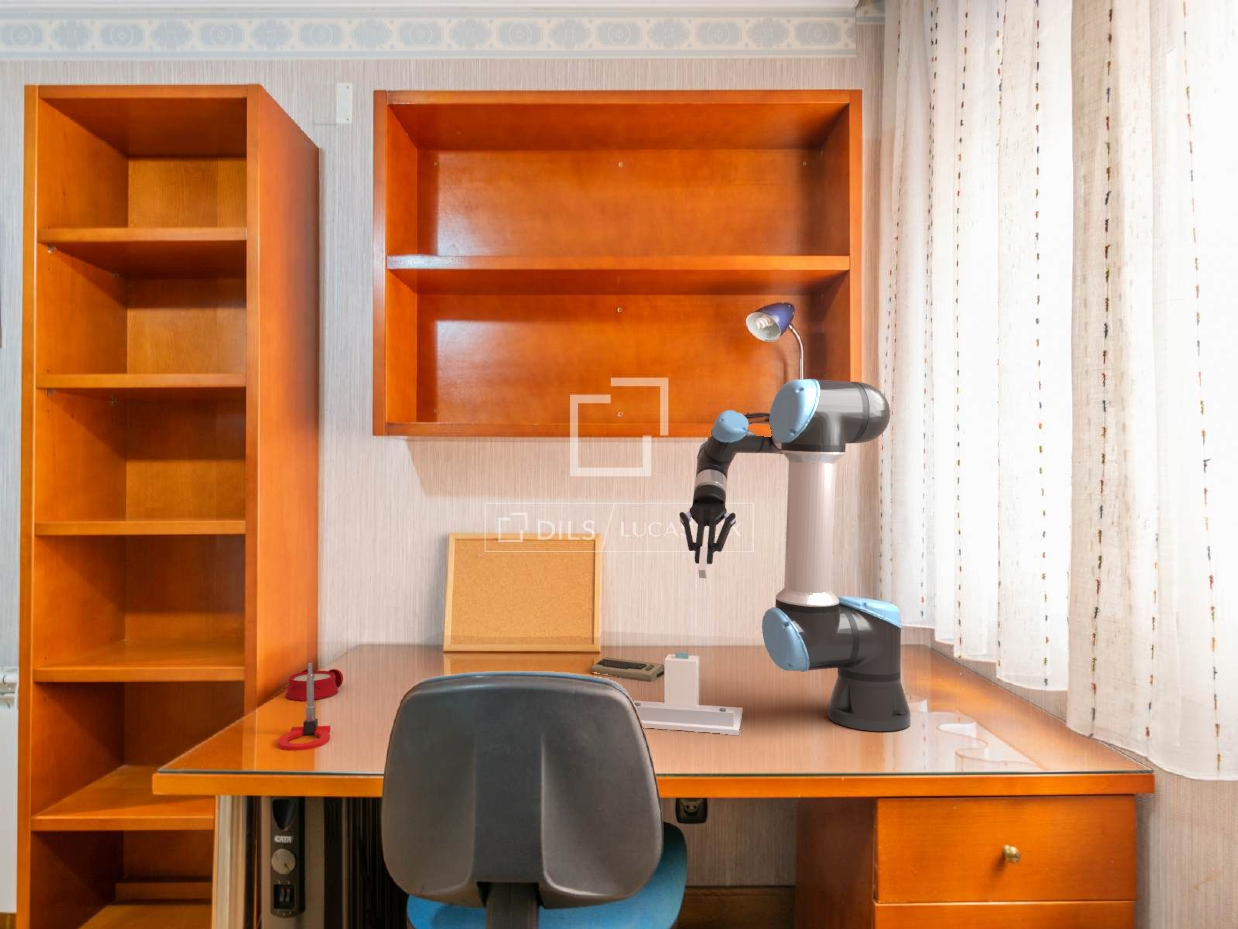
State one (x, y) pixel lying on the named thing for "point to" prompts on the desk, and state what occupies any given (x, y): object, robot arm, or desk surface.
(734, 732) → the panel board
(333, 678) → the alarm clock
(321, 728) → the tow hook
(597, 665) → the computer
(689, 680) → the block
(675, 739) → the desk surface
